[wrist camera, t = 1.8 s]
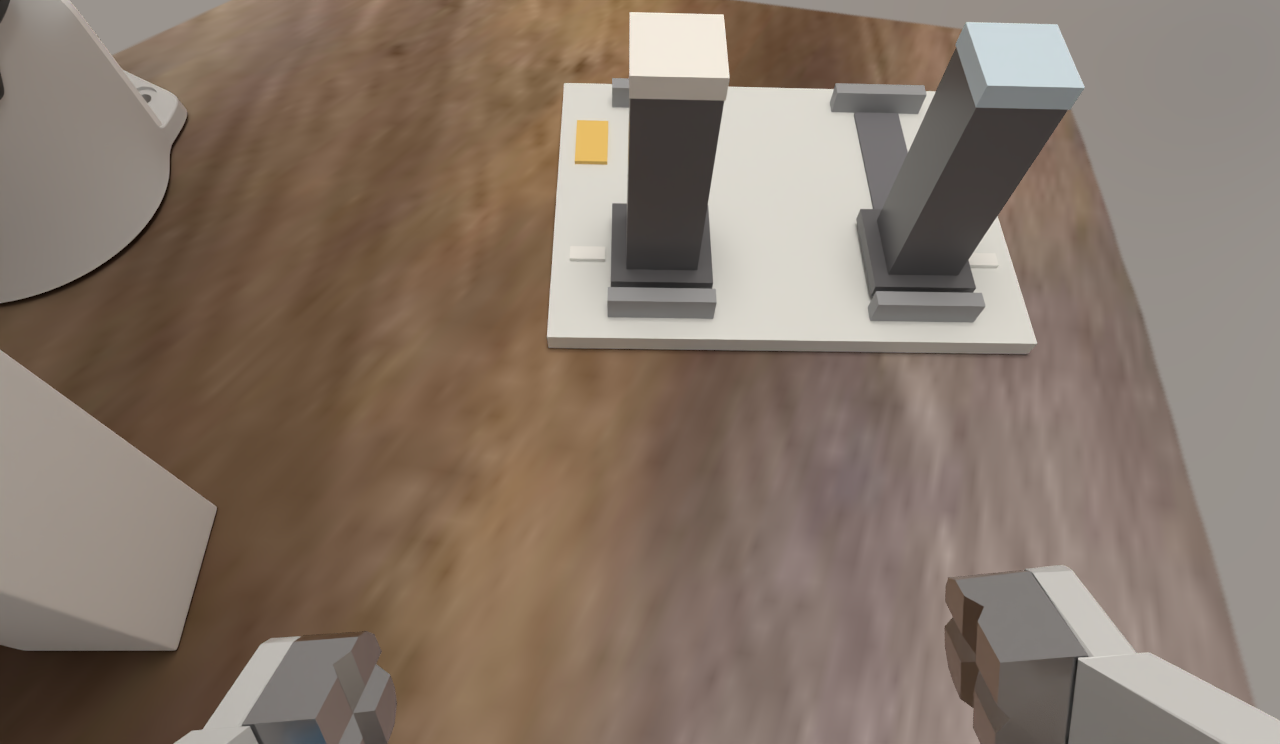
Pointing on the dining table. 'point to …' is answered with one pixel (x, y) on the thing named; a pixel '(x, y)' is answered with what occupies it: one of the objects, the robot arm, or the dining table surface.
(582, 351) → the dining table surface
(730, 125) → the twin pillar base
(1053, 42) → the grey capped post
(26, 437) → the milk
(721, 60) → the grey post on base
